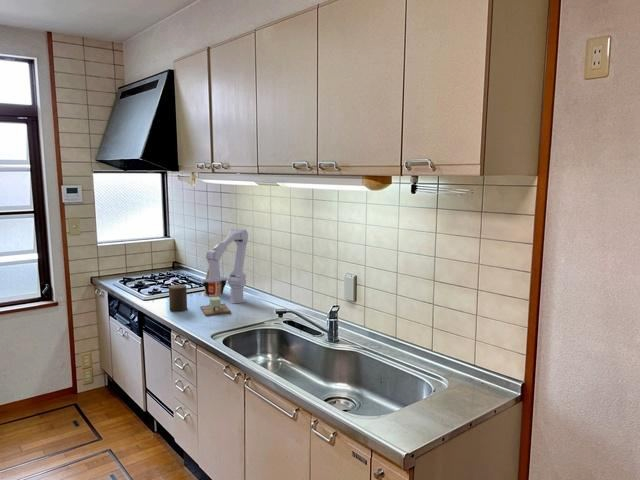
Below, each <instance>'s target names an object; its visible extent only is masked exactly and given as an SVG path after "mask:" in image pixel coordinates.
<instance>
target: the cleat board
mask: <svg viewBox="0 0 640 480" xmlns="http://www.w3.org/2000/svg"><path fill="white" fill-rule="evenodd" d="M200 310H201V312H203V313H202V314H204V317H209V316H210V317H211V316H218V315H226V314H227V315H228V314H231V313H232V312H231V310H230V309H229V307H228V306H227V305H226V304H225V303H221V310H219V309H218V307H214V311H212V310H211V309H210V304H209V305H202V306H201V305H200Z"/></svg>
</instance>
